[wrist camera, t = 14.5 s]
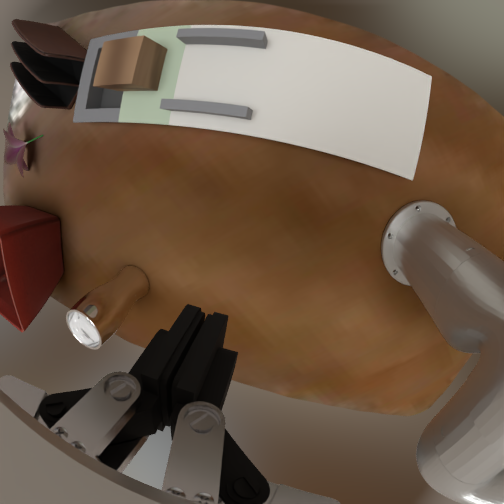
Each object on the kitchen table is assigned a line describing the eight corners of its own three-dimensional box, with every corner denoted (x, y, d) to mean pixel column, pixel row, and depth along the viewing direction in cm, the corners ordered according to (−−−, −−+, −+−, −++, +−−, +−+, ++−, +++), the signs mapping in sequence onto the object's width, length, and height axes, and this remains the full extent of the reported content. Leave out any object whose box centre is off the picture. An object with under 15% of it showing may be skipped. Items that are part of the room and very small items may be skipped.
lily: (31, 111, 36) (-6, 130, 30) (43, 107, 31) (-3, 129, 25) (42, 160, 44) (7, 180, 38) (55, 166, 39) (14, 190, 33)
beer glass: (125, 297, 46) (76, 346, 32) (114, 263, 44) (58, 306, 30) (156, 299, 45) (109, 354, 31) (146, 262, 42) (90, 310, 29)
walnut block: (167, 49, 26) (144, 35, 20) (157, 90, 28) (131, 83, 23) (130, 51, 26) (103, 41, 21) (120, 91, 29) (92, 86, 23)
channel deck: (419, 82, 26) (442, 71, 19) (401, 176, 31) (422, 184, 25) (105, 44, 29) (78, 35, 23) (89, 122, 35) (59, 122, 28)
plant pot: (27, 265, 50) (-21, 296, 34) (20, 189, 42) (-38, 211, 27) (76, 291, 49) (24, 335, 33) (70, 203, 41) (-1, 234, 26)
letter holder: (59, 26, 28) (10, 15, 15) (102, 62, 31) (40, 48, 18) (35, 66, 31) (-15, 64, 19) (71, 110, 35) (9, 111, 22)
